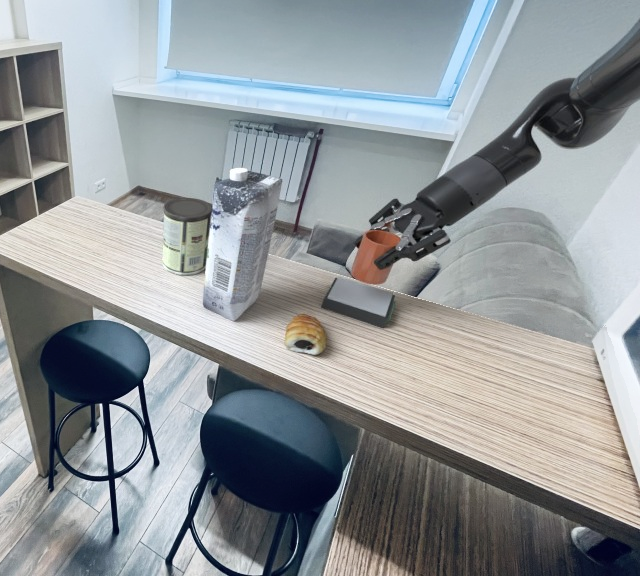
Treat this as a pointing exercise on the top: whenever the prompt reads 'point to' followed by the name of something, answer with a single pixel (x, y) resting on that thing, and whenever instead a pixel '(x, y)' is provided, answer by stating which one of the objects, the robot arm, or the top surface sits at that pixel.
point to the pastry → (305, 335)
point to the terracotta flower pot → (373, 256)
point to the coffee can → (186, 235)
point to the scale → (359, 301)
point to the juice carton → (239, 240)
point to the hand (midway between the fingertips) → (366, 256)
